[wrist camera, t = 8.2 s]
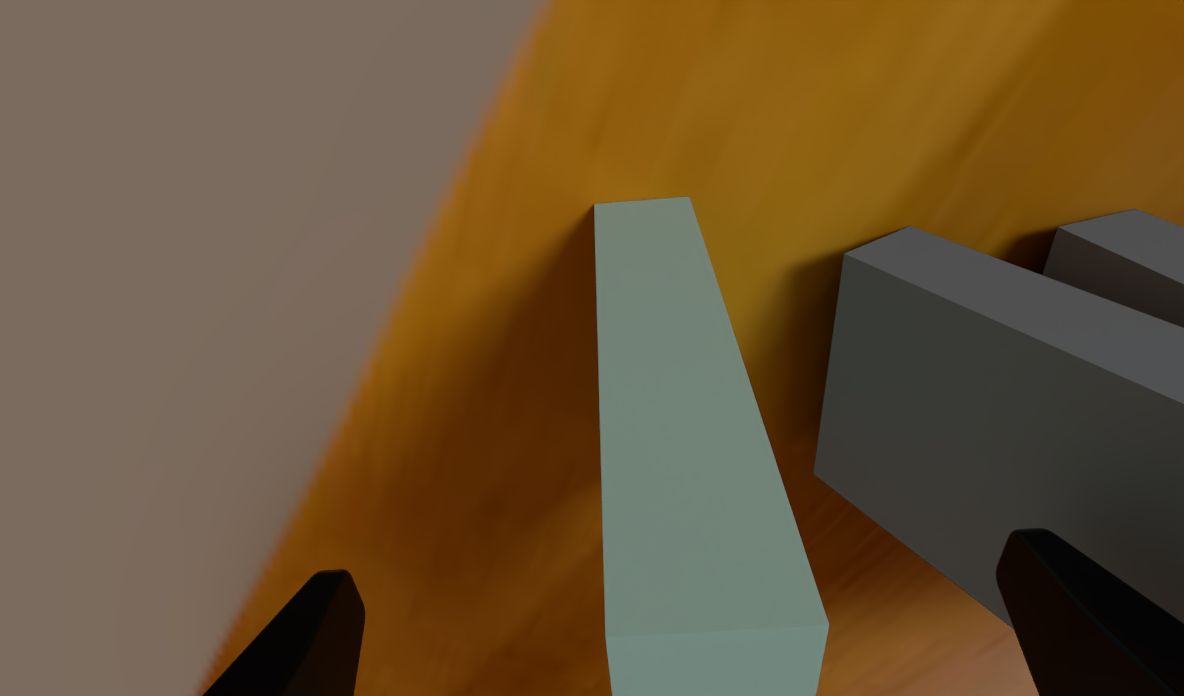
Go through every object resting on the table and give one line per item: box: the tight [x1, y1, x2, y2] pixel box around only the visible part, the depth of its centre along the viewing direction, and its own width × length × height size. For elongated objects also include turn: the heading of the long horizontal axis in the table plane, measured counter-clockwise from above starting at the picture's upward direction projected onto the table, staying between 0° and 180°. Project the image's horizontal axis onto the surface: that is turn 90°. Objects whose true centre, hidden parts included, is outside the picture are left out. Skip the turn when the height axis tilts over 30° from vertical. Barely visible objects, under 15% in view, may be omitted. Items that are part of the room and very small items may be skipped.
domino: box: [813, 226, 1184, 629], centre depth 10 cm, size 2×5×8 cm
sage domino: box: [594, 197, 829, 696], centre depth 10 cm, size 2×5×8 cm, turn 5°
